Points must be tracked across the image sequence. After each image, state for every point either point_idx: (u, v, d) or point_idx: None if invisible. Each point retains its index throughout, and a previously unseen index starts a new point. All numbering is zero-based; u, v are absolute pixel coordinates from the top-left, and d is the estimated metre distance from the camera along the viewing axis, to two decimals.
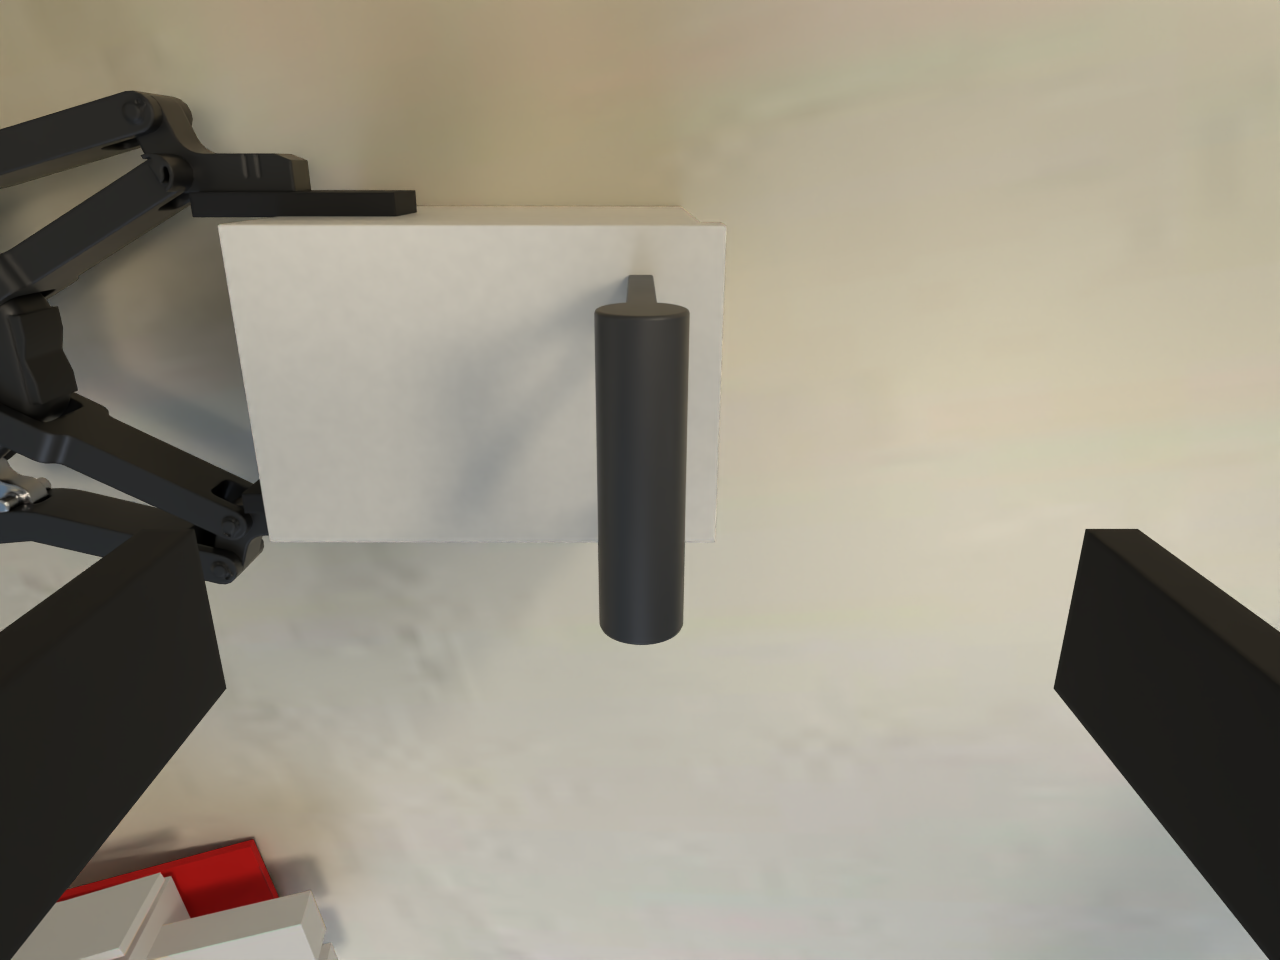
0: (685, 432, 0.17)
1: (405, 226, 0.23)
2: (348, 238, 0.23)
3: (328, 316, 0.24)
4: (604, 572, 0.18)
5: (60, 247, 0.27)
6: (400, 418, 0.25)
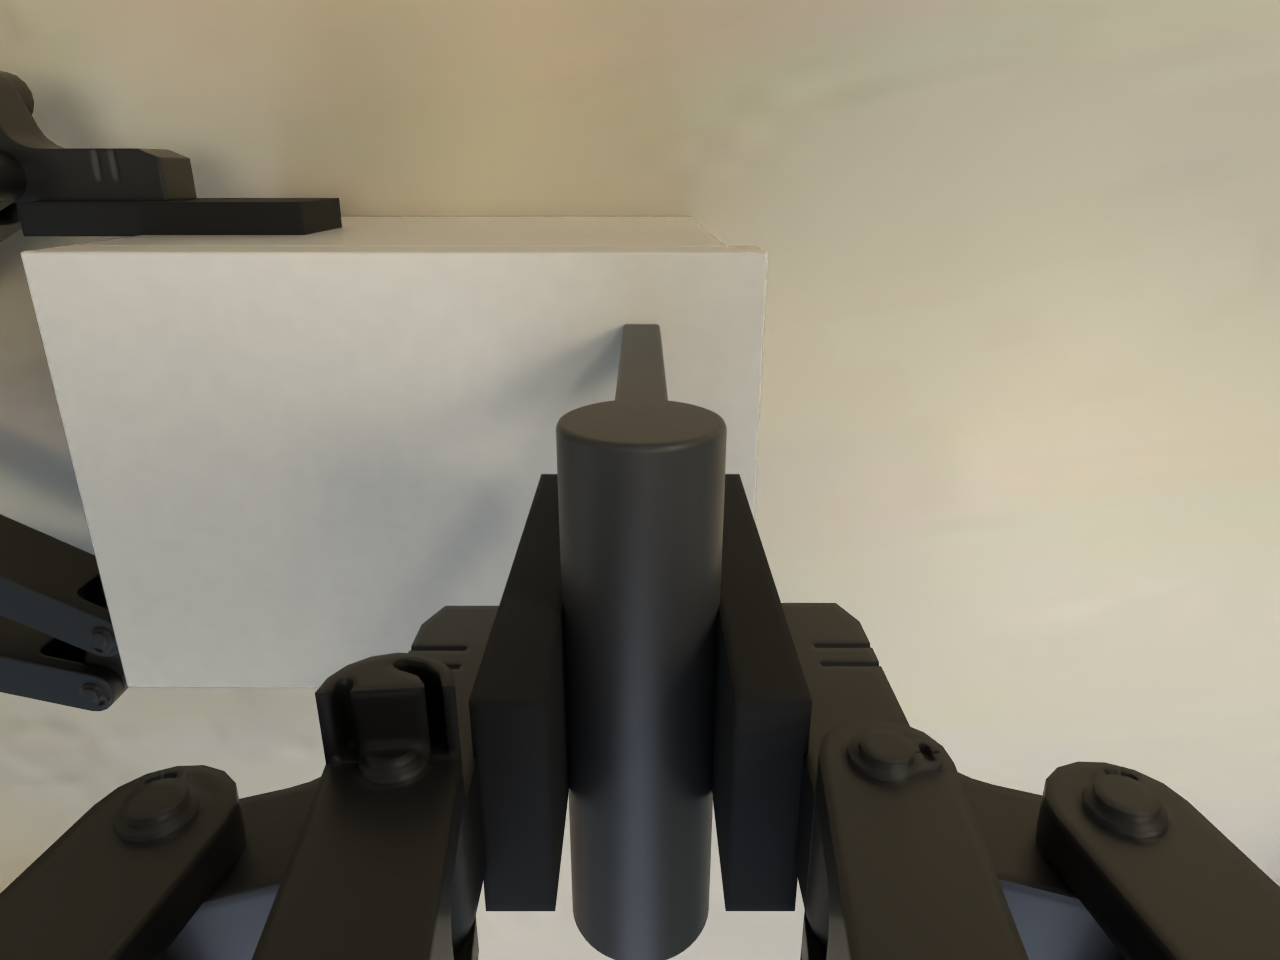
0: (716, 628, 0.10)
1: (295, 253, 0.16)
2: (212, 272, 0.16)
3: (191, 383, 0.17)
4: (579, 847, 0.11)
5: None
6: (300, 523, 0.18)
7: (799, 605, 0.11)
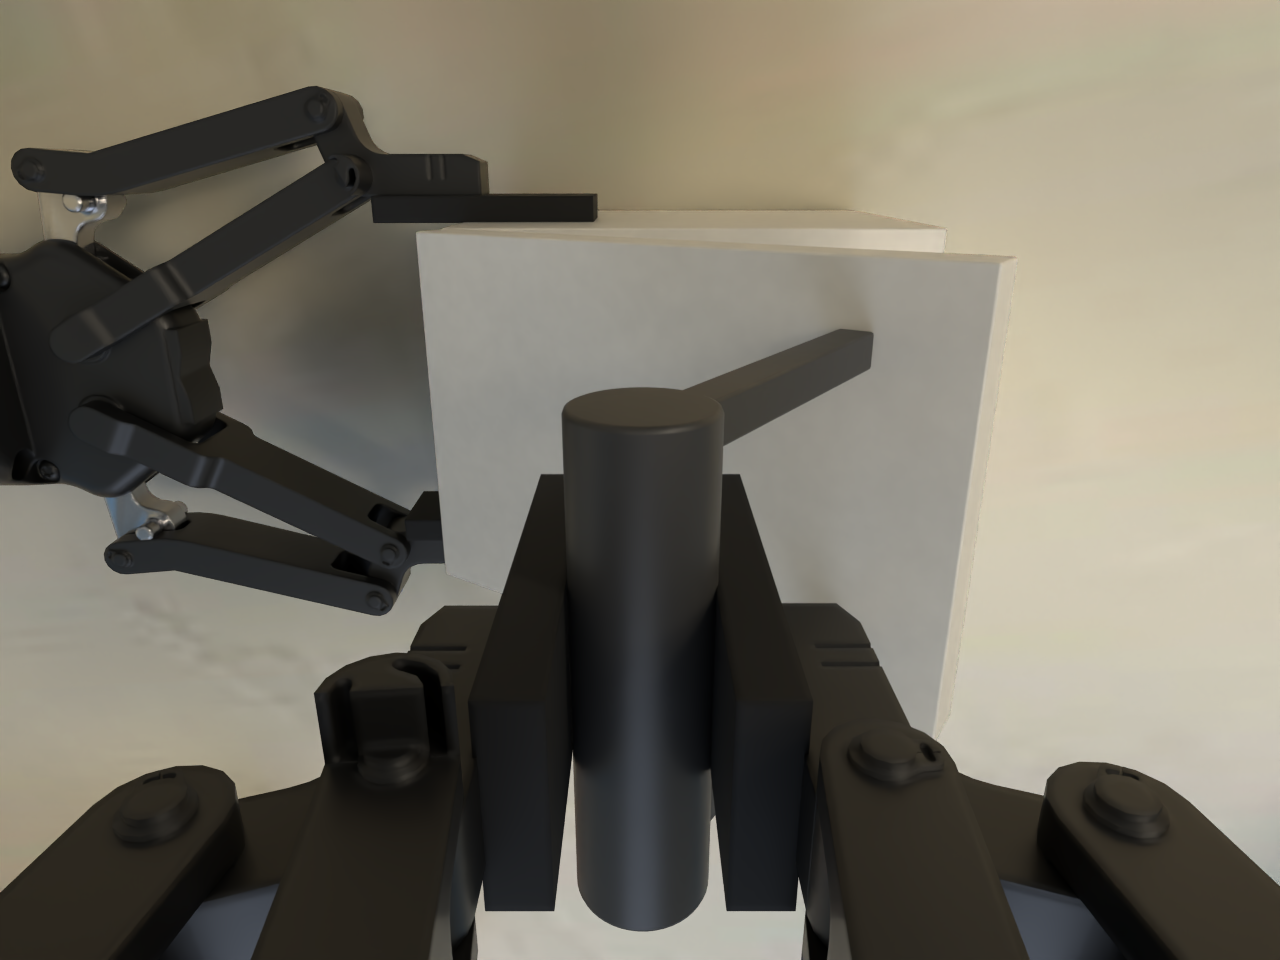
0: (690, 624, 0.10)
1: (577, 241, 0.18)
2: (522, 253, 0.19)
3: (502, 342, 0.21)
4: (574, 790, 0.12)
5: (227, 255, 0.25)
6: (561, 471, 0.21)
7: (800, 605, 0.11)
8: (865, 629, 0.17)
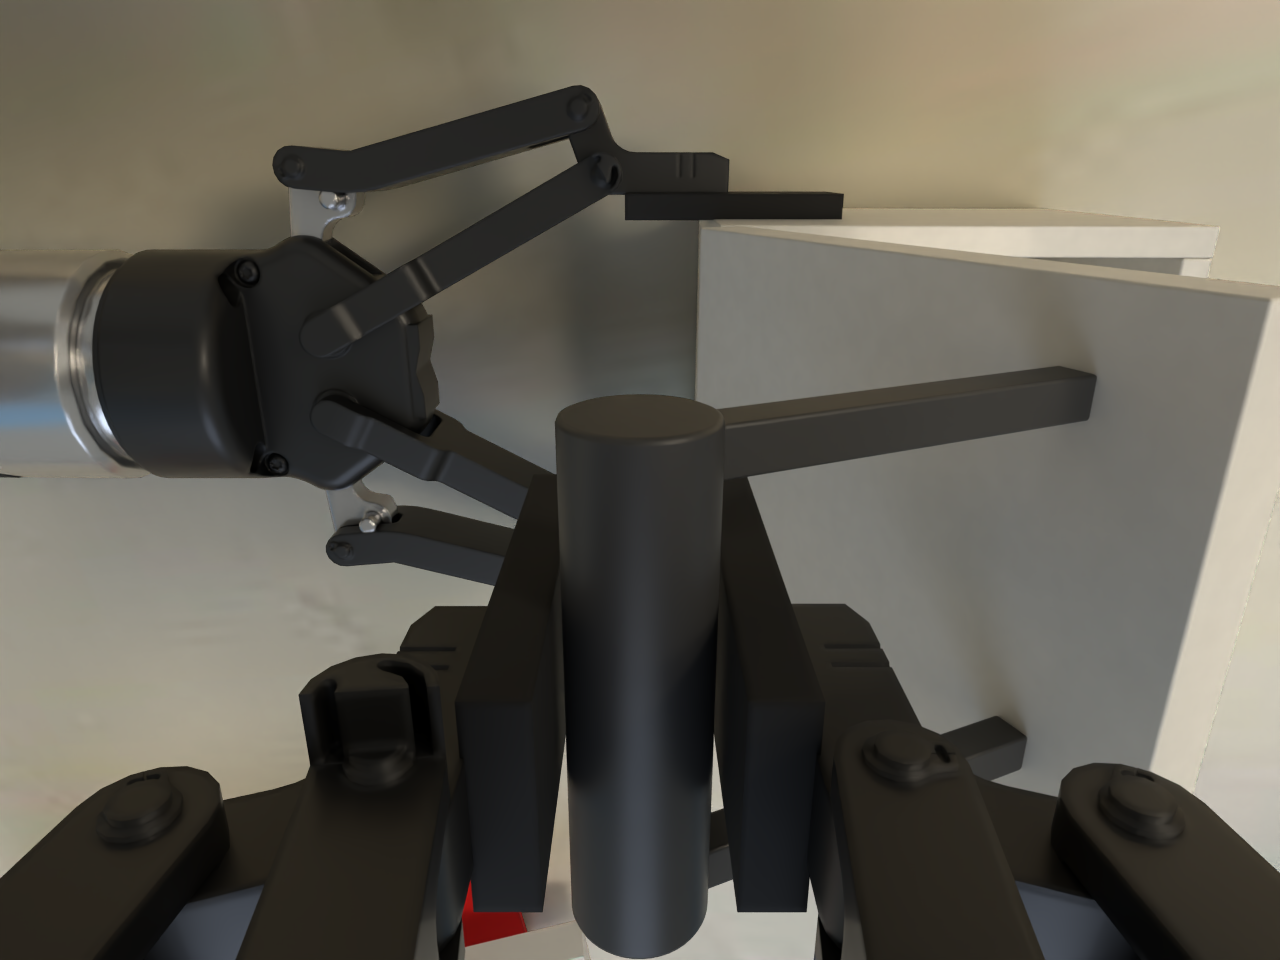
0: (647, 651, 0.09)
1: (820, 243, 0.17)
2: (775, 253, 0.19)
3: (752, 342, 0.20)
4: None
5: (476, 252, 0.26)
6: (785, 482, 0.20)
7: (808, 606, 0.11)
8: (1049, 741, 0.14)
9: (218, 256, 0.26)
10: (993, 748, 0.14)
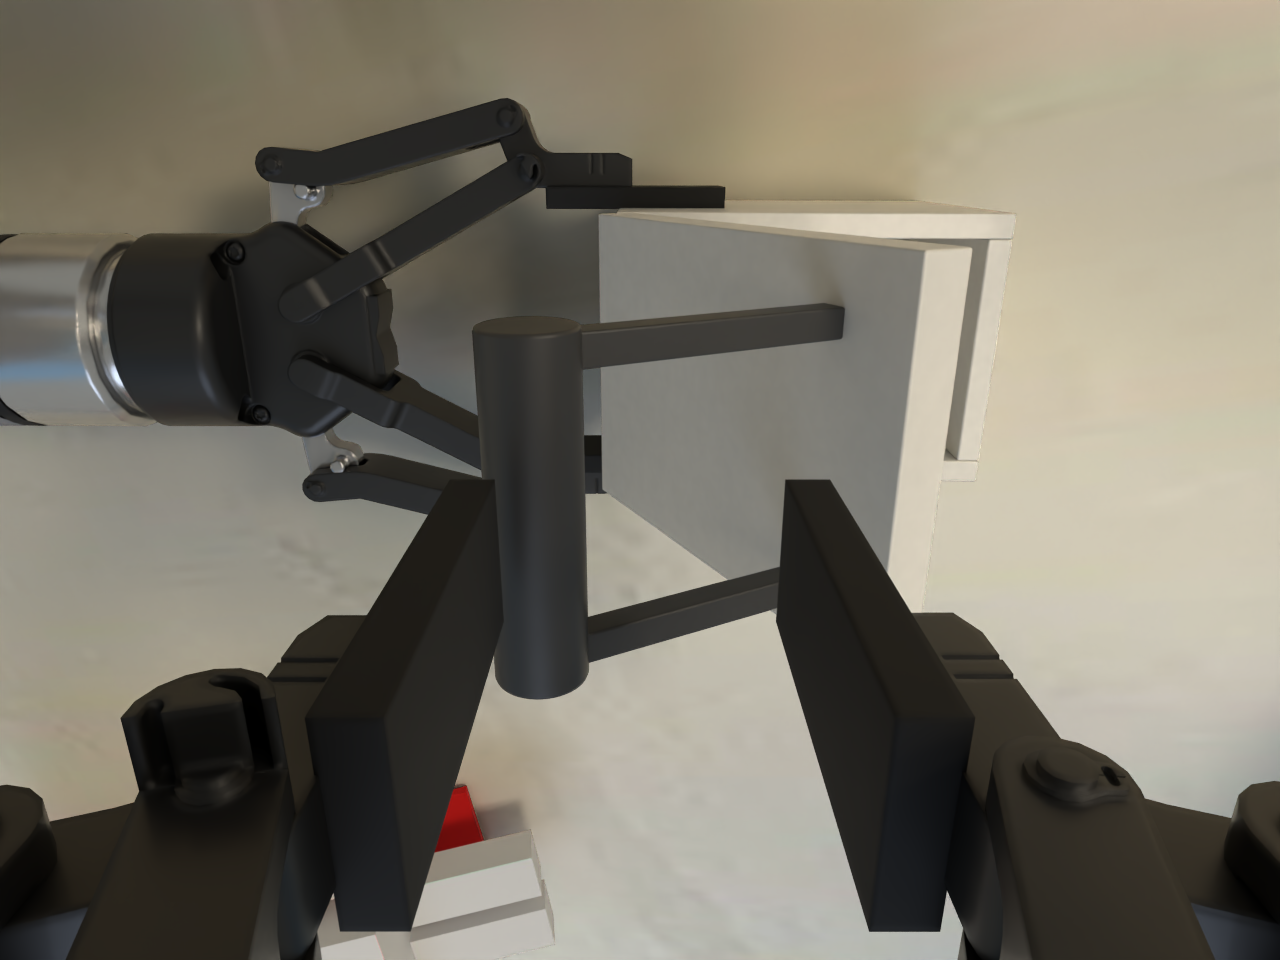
0: (535, 475, 0.15)
1: (681, 224, 0.23)
2: (651, 232, 0.24)
3: (638, 303, 0.26)
4: None
5: (424, 235, 0.31)
6: (665, 411, 0.25)
7: (916, 615, 0.11)
8: None
9: (210, 238, 0.31)
10: None
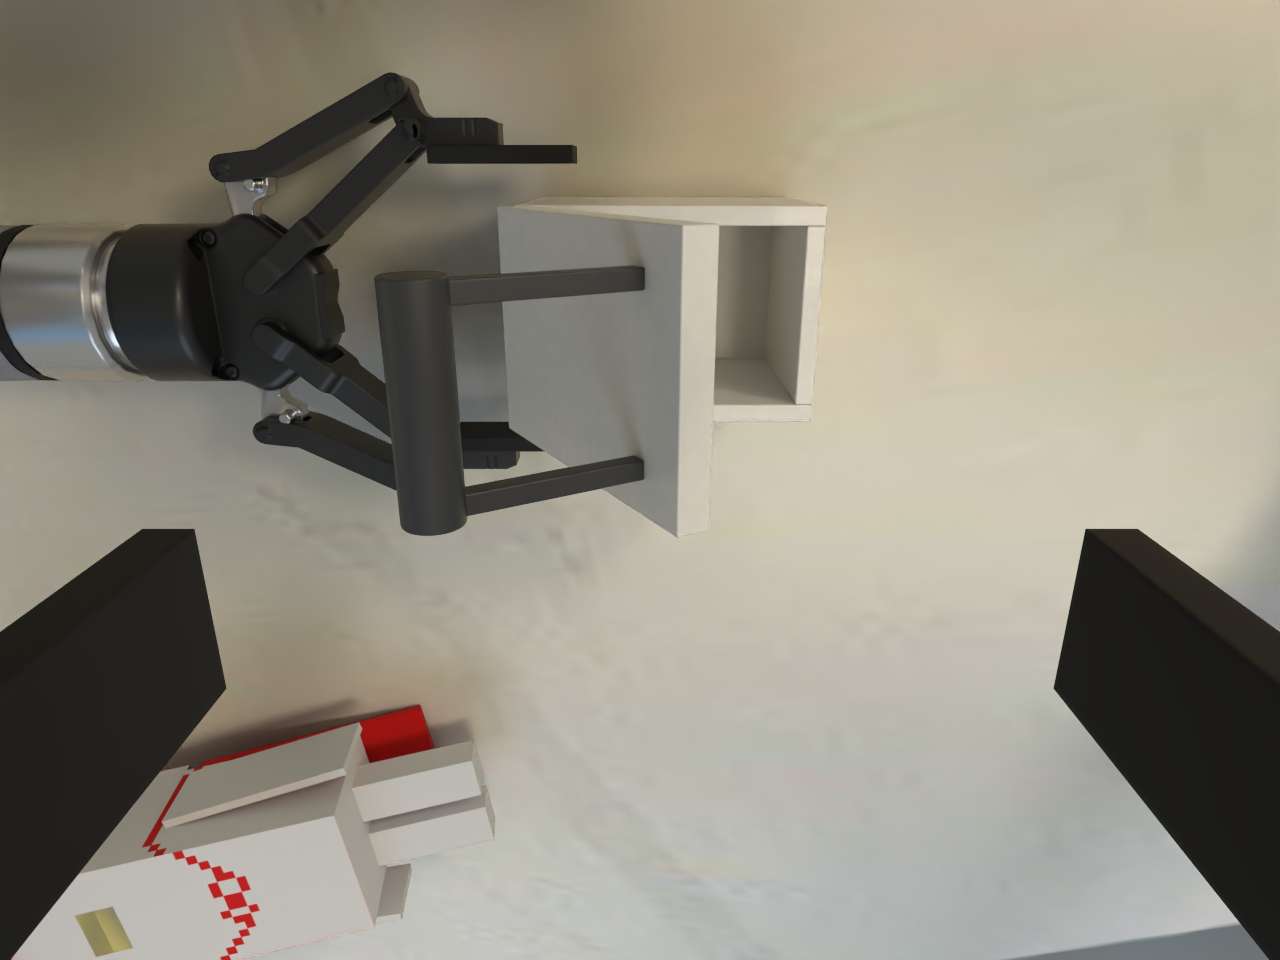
0: (418, 374, 0.22)
1: (549, 212, 0.31)
2: (532, 219, 0.32)
3: None
4: None
5: (343, 203, 0.38)
6: (547, 358, 0.33)
7: None
8: (650, 458, 0.27)
9: (188, 227, 0.39)
10: (624, 464, 0.27)
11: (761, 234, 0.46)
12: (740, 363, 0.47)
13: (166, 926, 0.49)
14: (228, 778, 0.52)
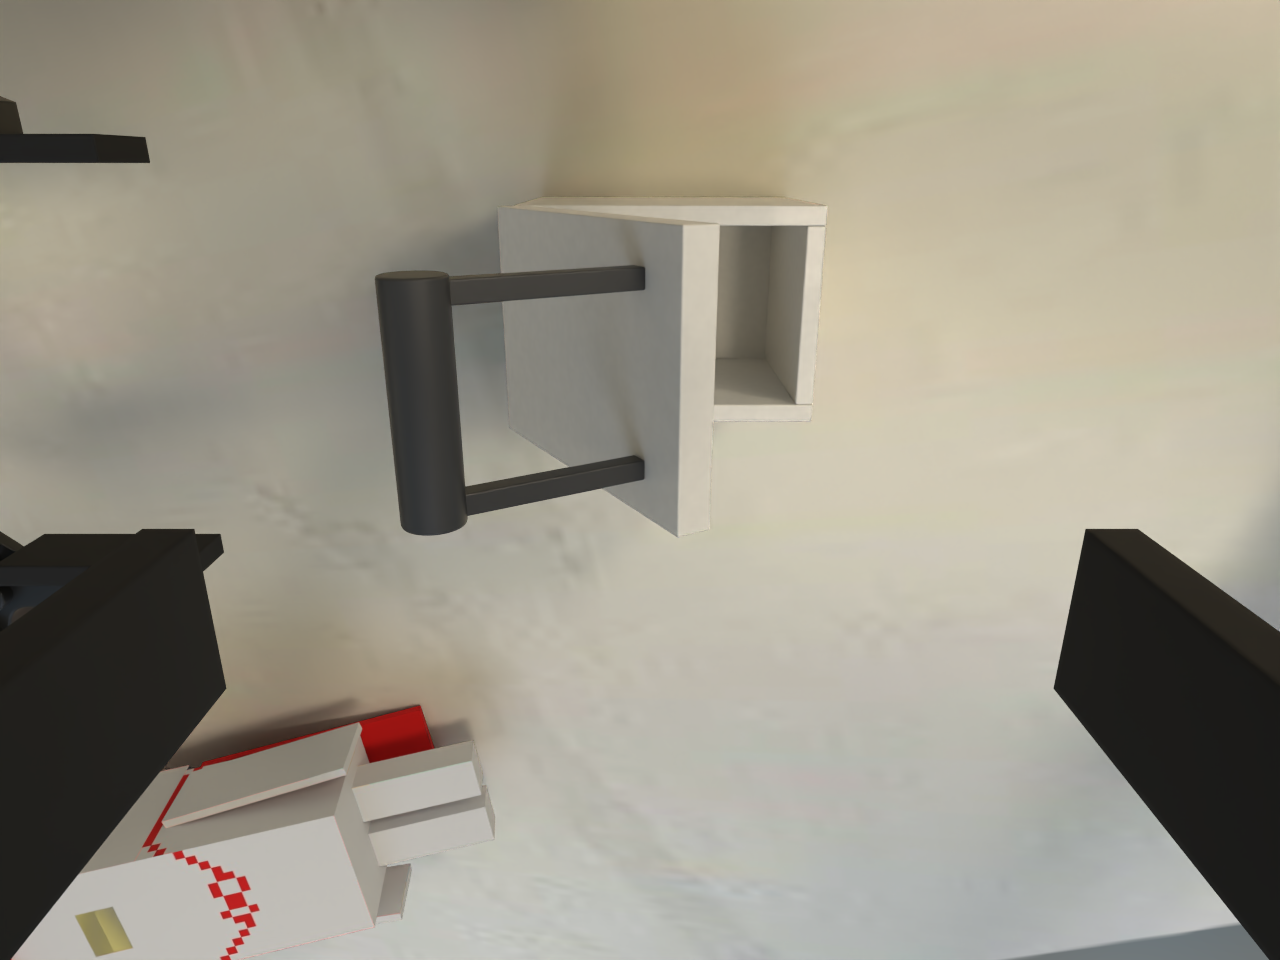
0: (418, 374, 0.22)
1: (549, 212, 0.31)
2: (532, 219, 0.32)
3: None
4: None
5: None
6: (547, 357, 0.33)
7: None
8: (651, 458, 0.27)
9: None
10: (624, 464, 0.27)
11: (761, 234, 0.46)
12: (740, 363, 0.47)
13: (166, 926, 0.49)
14: (228, 778, 0.52)
